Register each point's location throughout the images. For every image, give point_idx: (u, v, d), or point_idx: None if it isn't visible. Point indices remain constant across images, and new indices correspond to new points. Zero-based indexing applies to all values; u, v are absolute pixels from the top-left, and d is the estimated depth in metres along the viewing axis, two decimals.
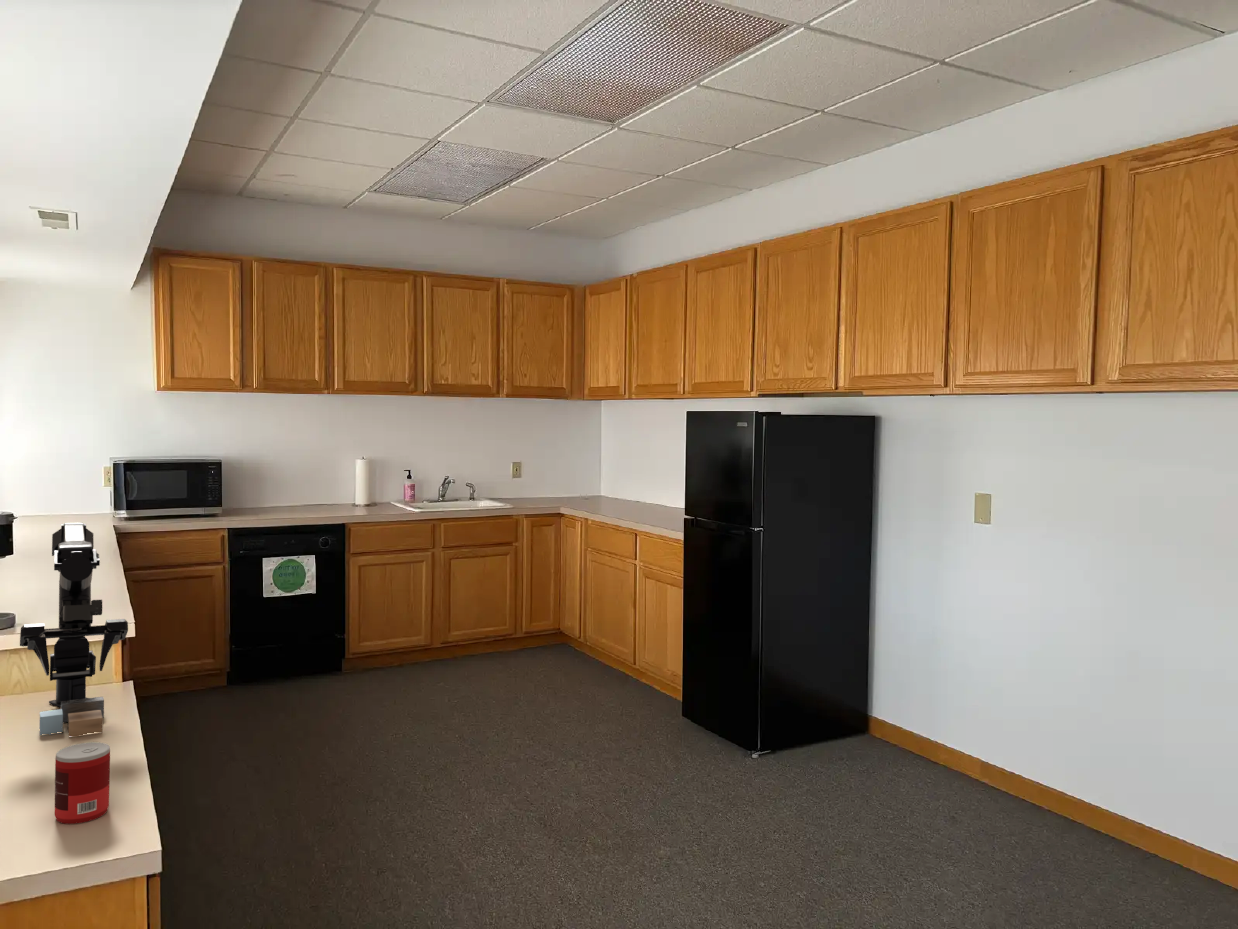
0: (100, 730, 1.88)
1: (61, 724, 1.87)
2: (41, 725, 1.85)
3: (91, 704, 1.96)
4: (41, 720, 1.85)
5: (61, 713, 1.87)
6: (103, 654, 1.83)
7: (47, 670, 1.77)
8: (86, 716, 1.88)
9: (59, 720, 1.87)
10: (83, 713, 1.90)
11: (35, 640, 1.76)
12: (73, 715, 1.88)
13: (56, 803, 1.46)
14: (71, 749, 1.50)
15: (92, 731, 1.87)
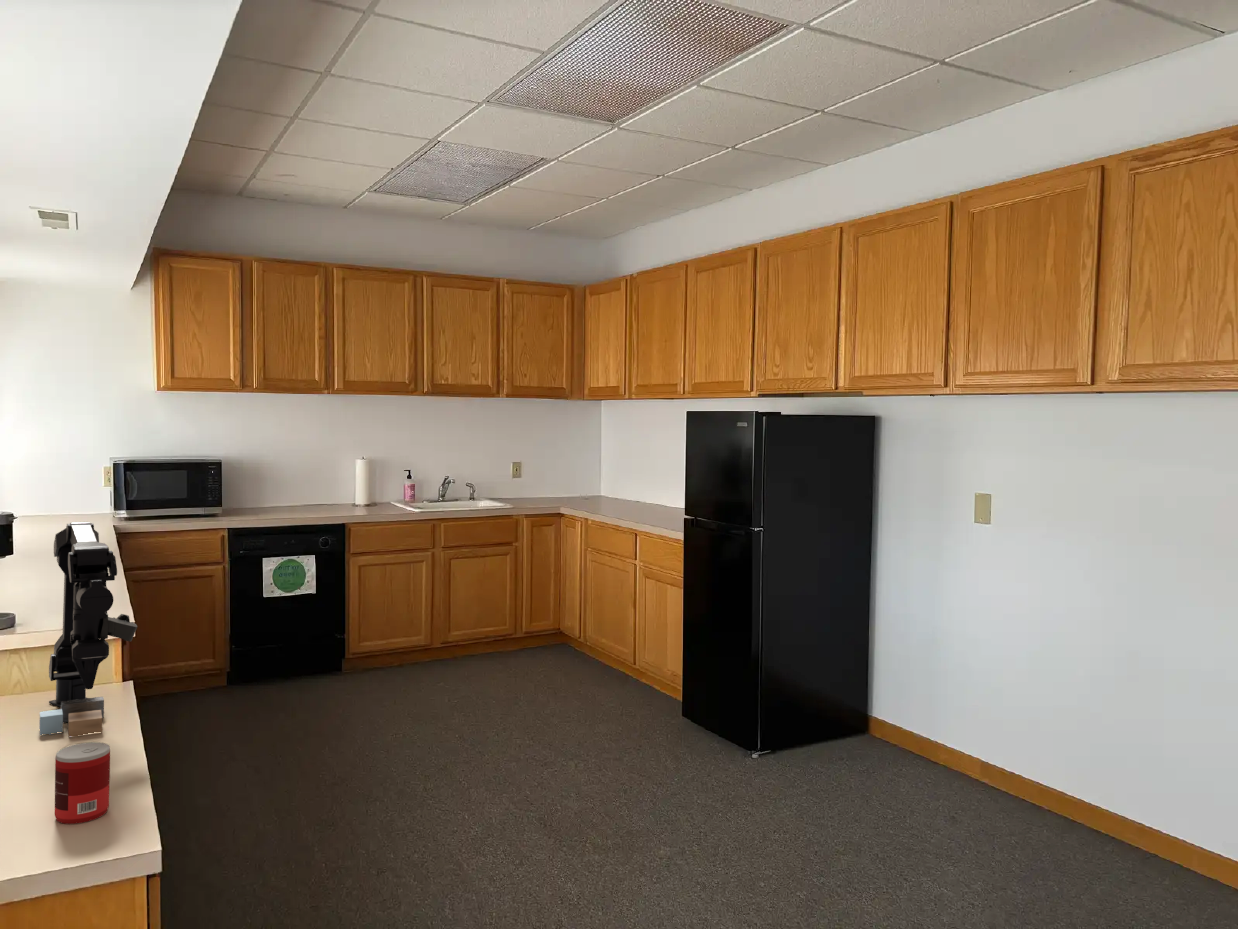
0: (100, 730, 1.88)
1: (61, 724, 1.87)
2: (41, 725, 1.85)
3: (91, 704, 1.96)
4: (41, 720, 1.85)
5: (61, 713, 1.87)
6: None
7: None
8: (86, 716, 1.88)
9: (59, 720, 1.87)
10: (84, 713, 1.90)
11: (106, 657, 1.77)
12: (73, 715, 1.89)
13: (56, 803, 1.46)
14: (71, 749, 1.50)
15: (92, 731, 1.87)
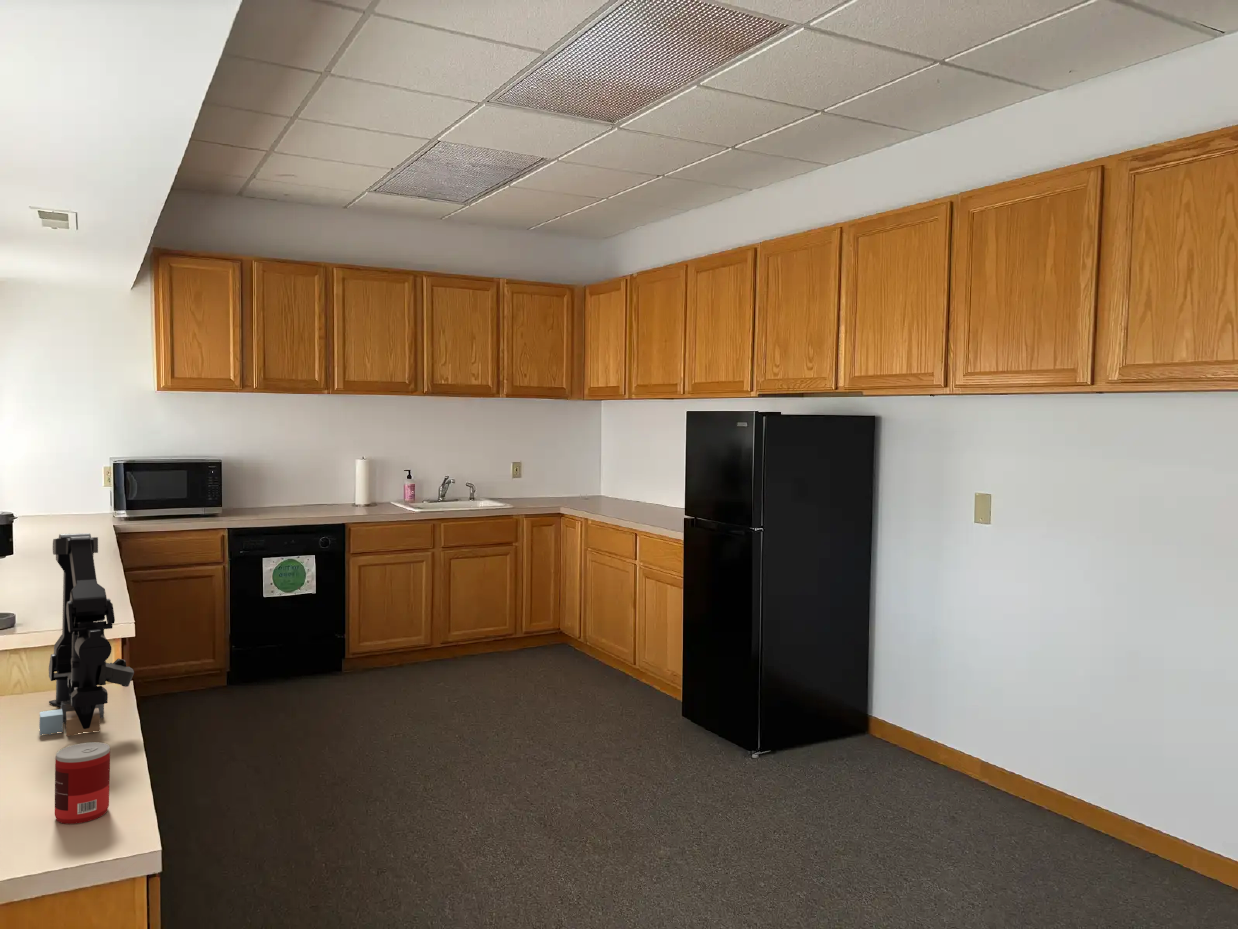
0: (97, 728, 1.88)
1: (61, 724, 1.87)
2: (41, 725, 1.85)
3: None
4: (41, 720, 1.85)
5: (61, 713, 1.87)
6: None
7: None
8: None
9: (59, 720, 1.87)
10: None
11: None
12: (70, 713, 1.89)
13: (56, 803, 1.46)
14: (71, 749, 1.50)
15: (89, 729, 1.87)
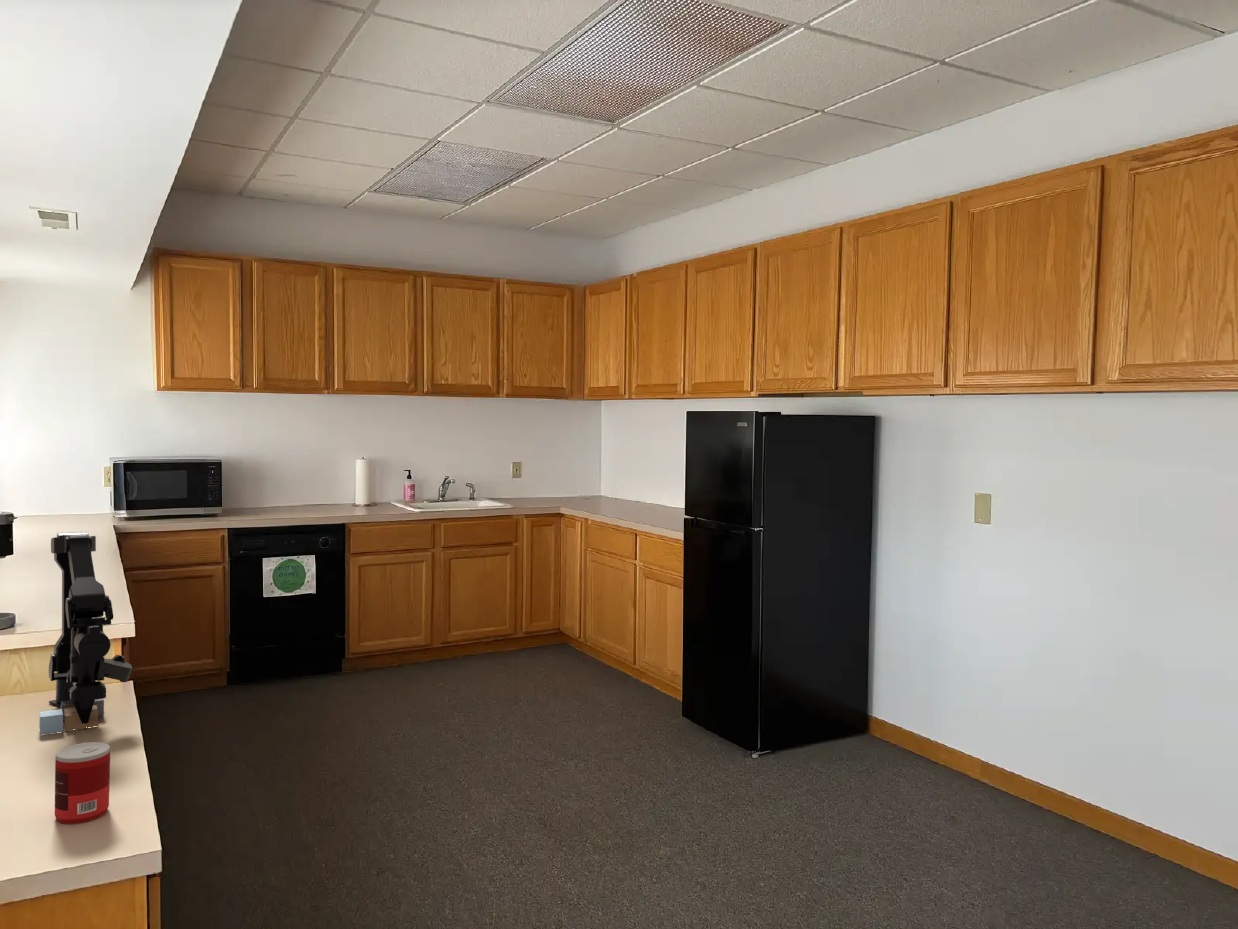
0: (96, 724, 1.91)
1: (61, 724, 1.87)
2: (41, 725, 1.85)
3: None
4: (41, 720, 1.85)
5: (61, 713, 1.87)
6: None
7: (88, 719, 1.89)
8: None
9: (59, 720, 1.87)
10: None
11: None
12: (69, 709, 1.92)
13: (56, 803, 1.46)
14: (71, 749, 1.50)
15: (88, 725, 1.90)
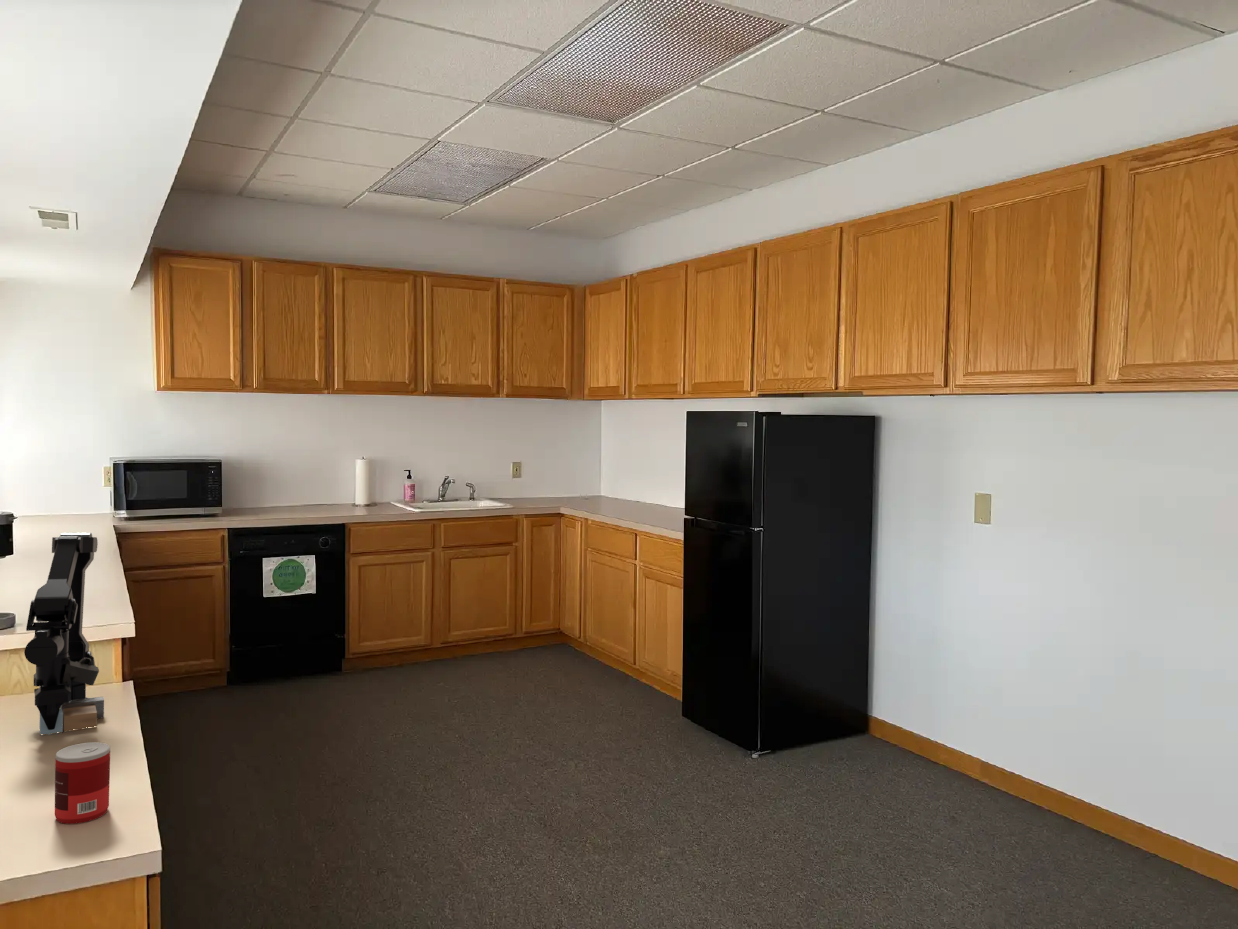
0: (94, 725, 1.91)
1: (61, 723, 1.87)
2: (41, 724, 1.85)
3: (91, 704, 1.96)
4: (41, 719, 1.85)
5: (61, 712, 1.87)
6: None
7: None
8: (80, 711, 1.91)
9: (59, 719, 1.87)
10: (78, 708, 1.93)
11: None
12: (68, 710, 1.92)
13: (56, 803, 1.46)
14: (71, 749, 1.50)
15: (87, 725, 1.90)
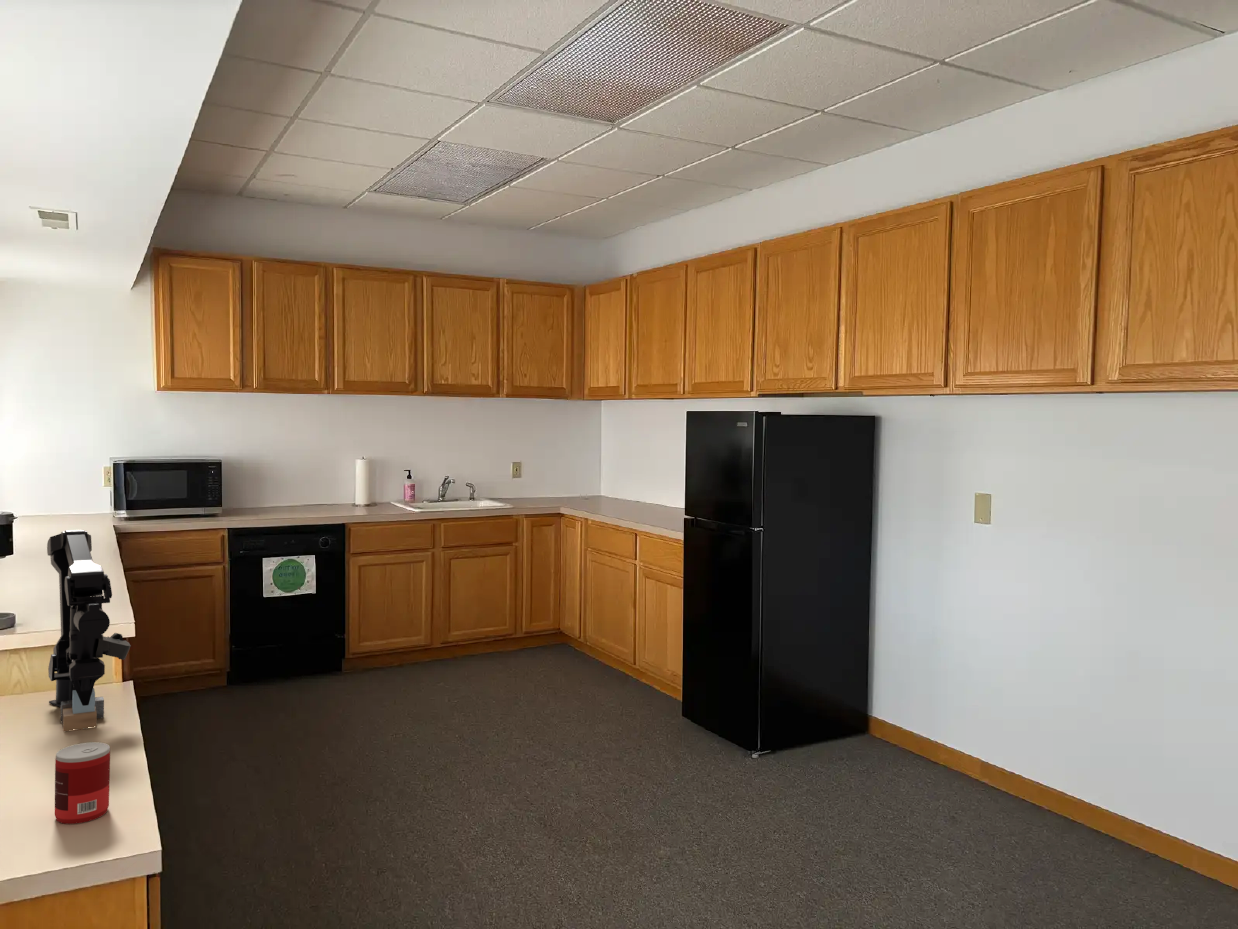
0: (94, 725, 1.91)
1: (93, 702, 1.91)
2: (74, 703, 1.89)
3: None
4: (74, 698, 1.89)
5: (93, 692, 1.92)
6: None
7: None
8: None
9: (91, 698, 1.91)
10: None
11: (101, 676, 1.88)
12: (67, 710, 1.92)
13: (56, 803, 1.46)
14: (71, 749, 1.50)
15: (86, 726, 1.90)
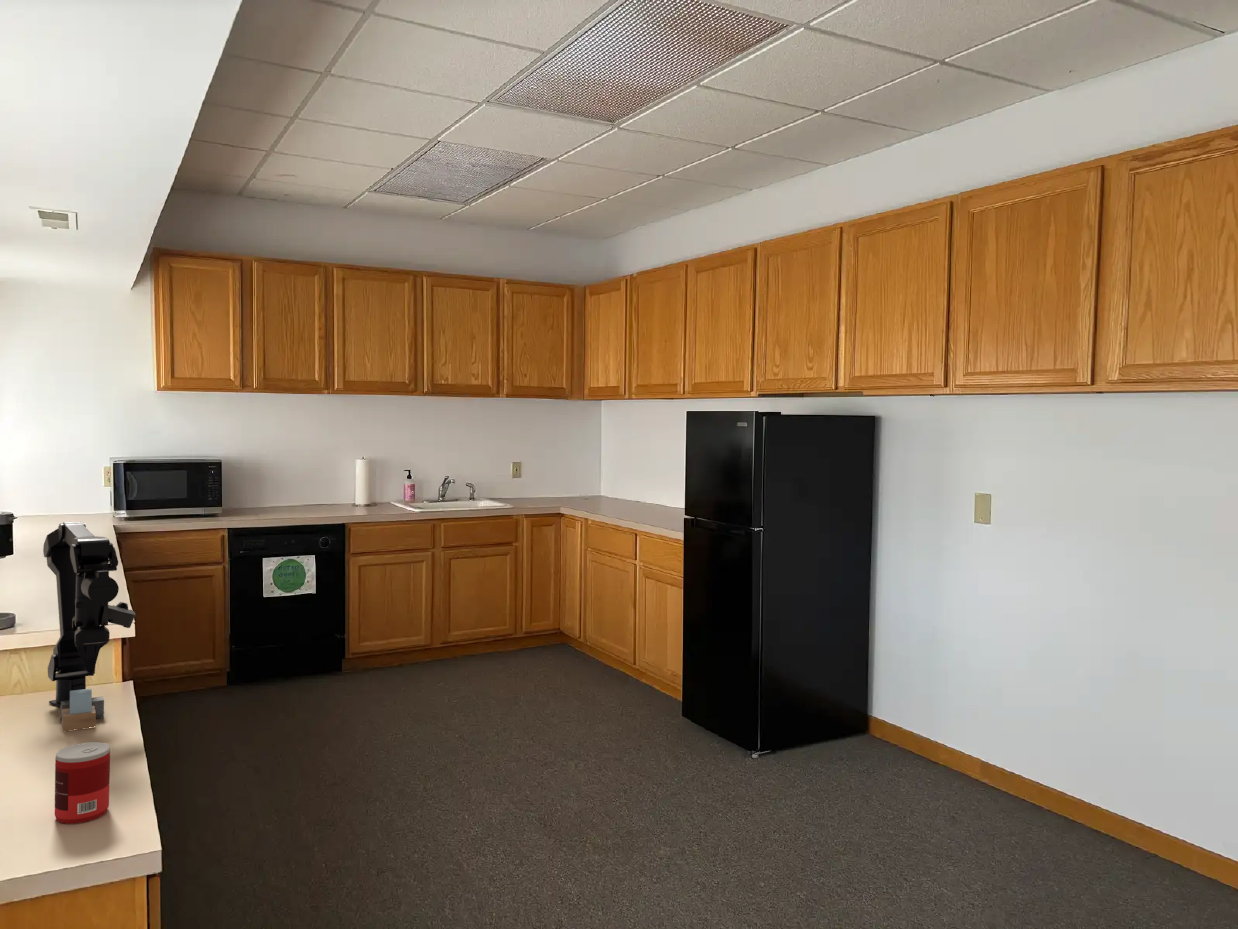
0: (93, 725, 1.91)
1: (90, 703, 1.91)
2: (71, 703, 1.89)
3: None
4: (71, 699, 1.89)
5: (90, 692, 1.92)
6: None
7: (94, 668, 1.90)
8: None
9: (88, 699, 1.91)
10: None
11: (106, 643, 1.89)
12: (66, 710, 1.91)
13: (56, 803, 1.46)
14: (71, 749, 1.50)
15: (85, 726, 1.90)
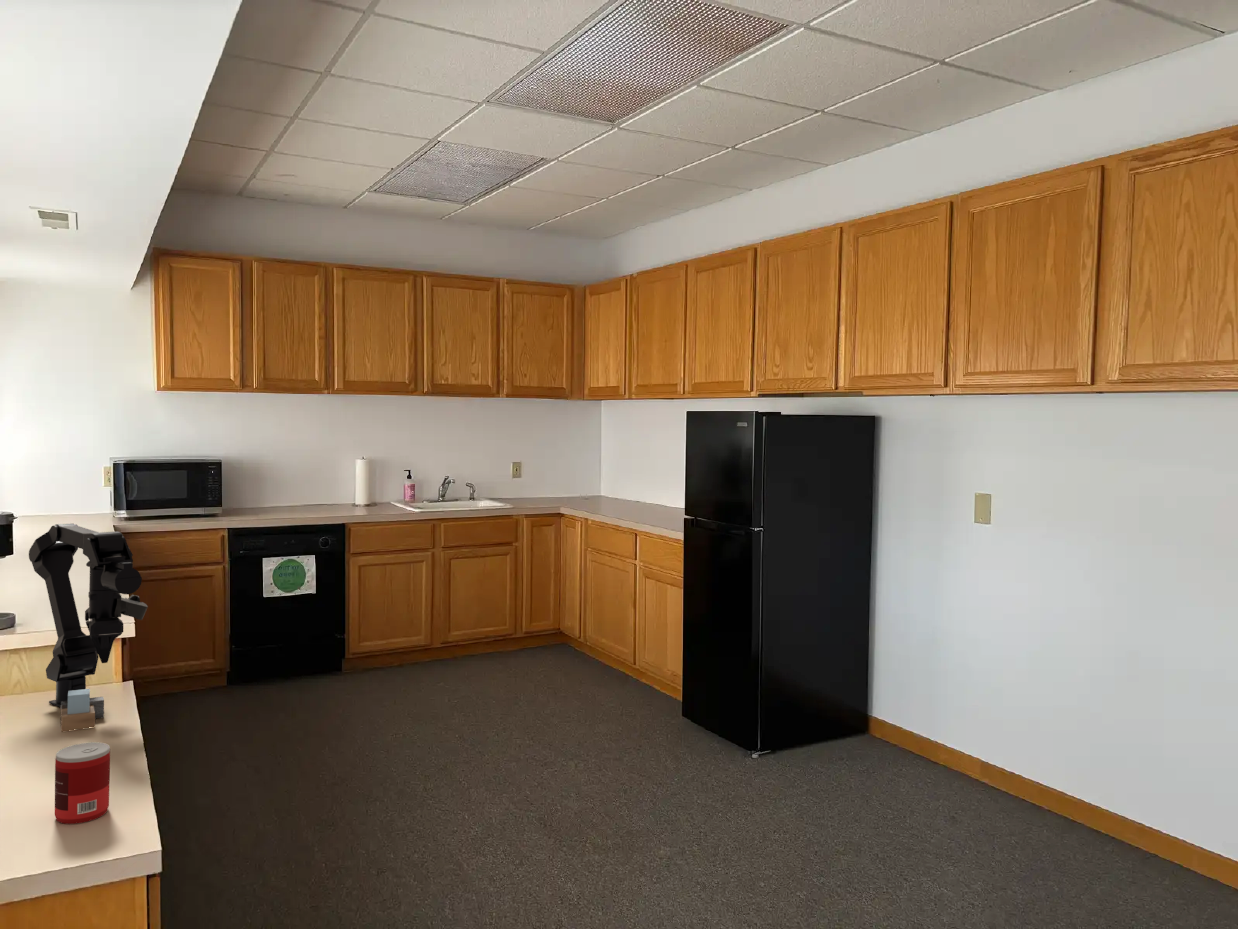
0: (93, 725, 1.91)
1: (88, 703, 1.91)
2: (69, 704, 1.89)
3: (91, 704, 1.96)
4: (69, 699, 1.89)
5: (88, 692, 1.91)
6: None
7: None
8: None
9: (86, 699, 1.91)
10: None
11: (120, 634, 1.93)
12: (66, 710, 1.91)
13: (56, 803, 1.46)
14: (71, 749, 1.50)
15: (85, 726, 1.90)
